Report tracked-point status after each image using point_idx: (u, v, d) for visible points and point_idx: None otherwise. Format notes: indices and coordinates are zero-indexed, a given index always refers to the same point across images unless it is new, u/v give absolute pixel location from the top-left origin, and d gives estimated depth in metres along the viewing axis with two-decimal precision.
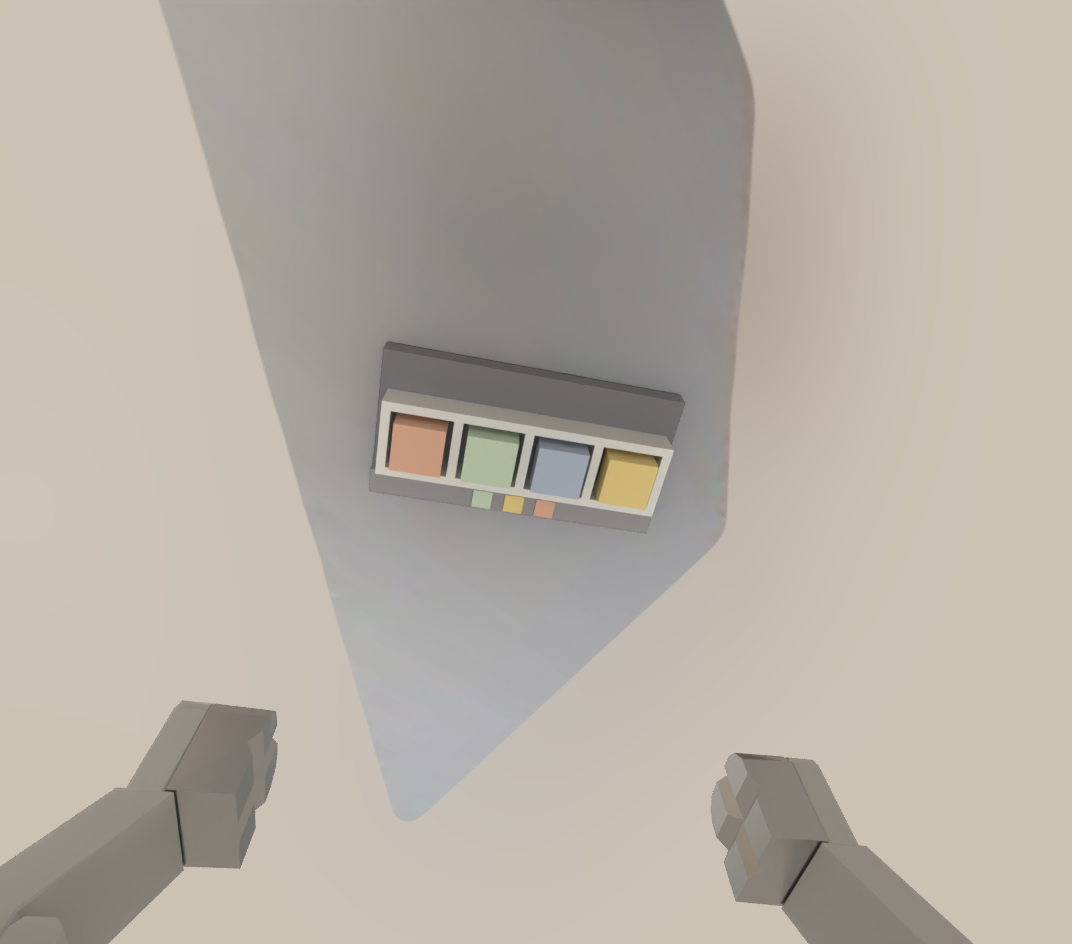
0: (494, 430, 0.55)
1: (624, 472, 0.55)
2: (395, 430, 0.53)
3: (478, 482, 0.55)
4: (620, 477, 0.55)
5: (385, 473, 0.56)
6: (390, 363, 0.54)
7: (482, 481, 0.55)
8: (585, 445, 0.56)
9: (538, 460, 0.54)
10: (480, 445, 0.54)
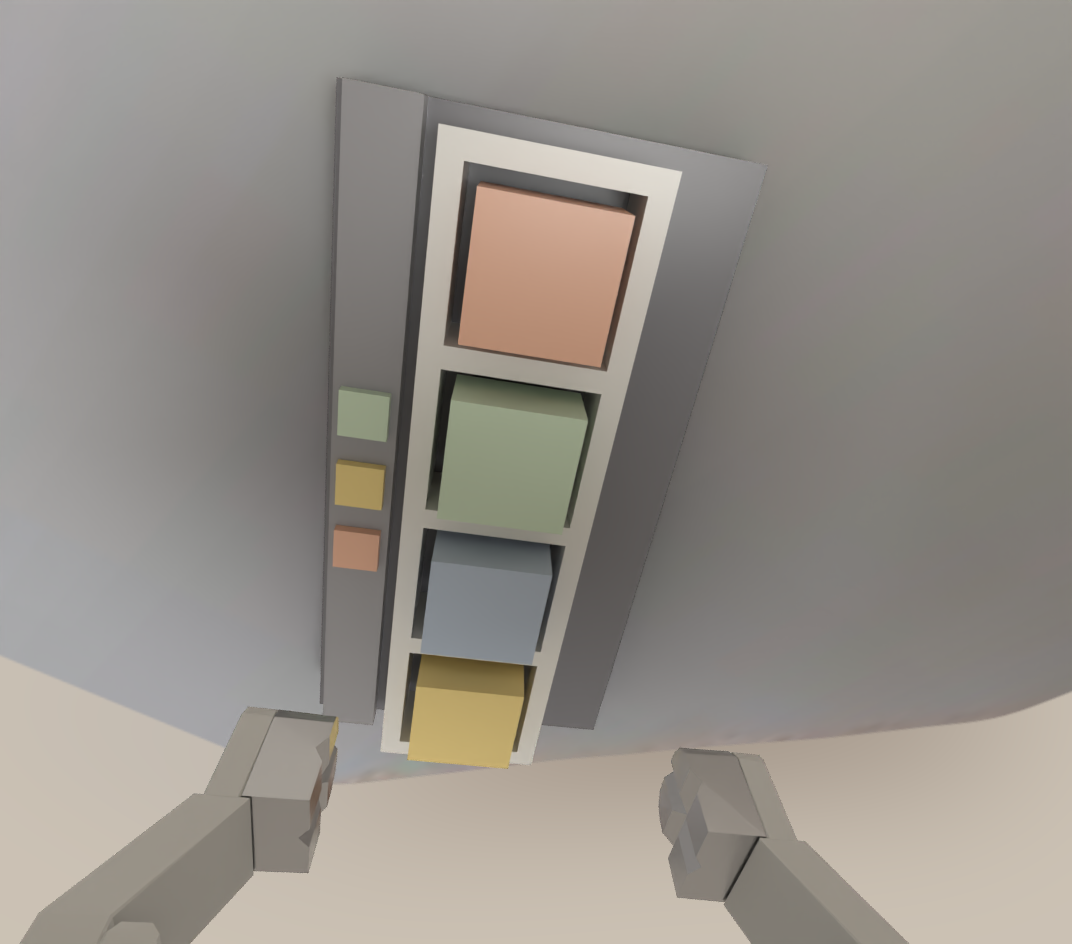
0: None
1: (494, 721, 0.26)
2: (612, 220, 0.17)
3: (450, 445, 0.20)
4: (482, 716, 0.26)
5: (441, 161, 0.18)
6: (726, 181, 0.21)
7: (454, 455, 0.21)
8: None
9: (519, 574, 0.23)
10: (560, 450, 0.21)
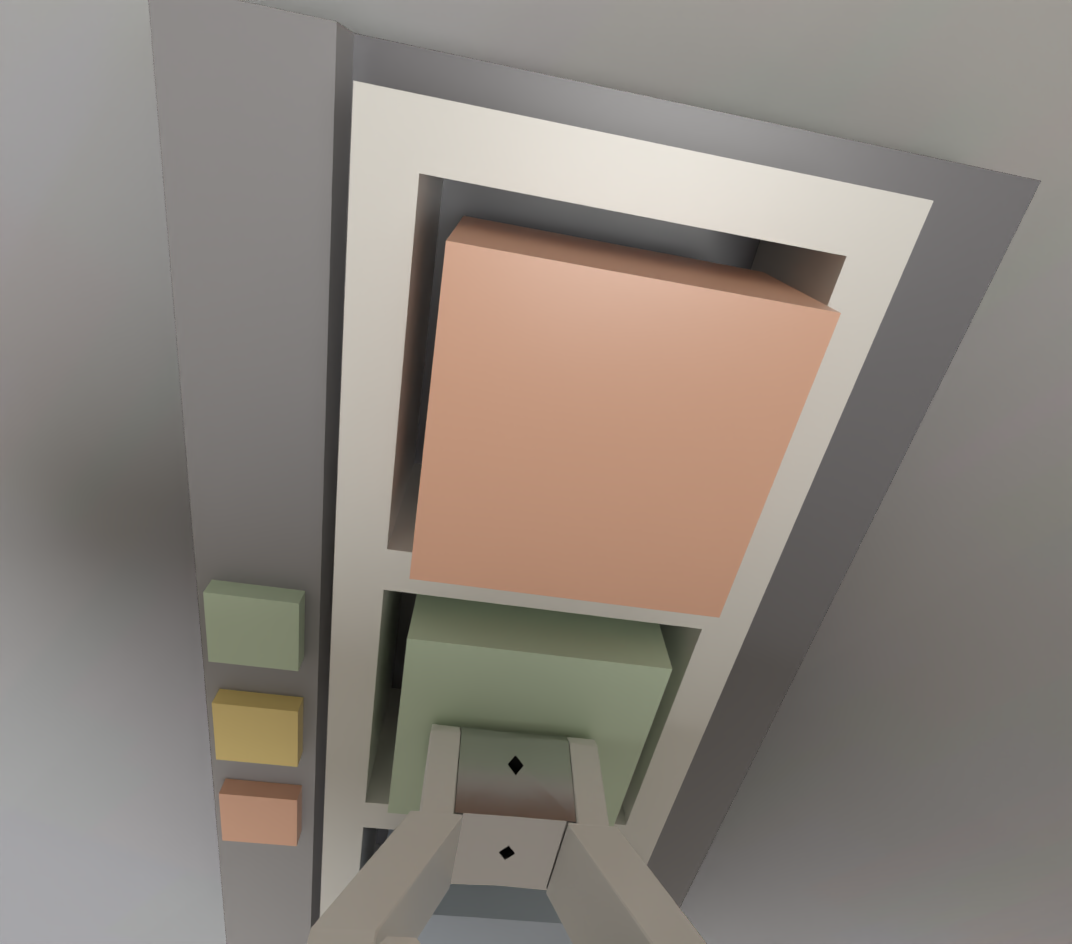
0: None
1: None
2: (782, 323, 0.07)
3: (408, 708, 0.11)
4: None
5: (365, 173, 0.07)
6: (953, 212, 0.11)
7: (416, 724, 0.11)
8: None
9: (535, 924, 0.13)
10: (615, 714, 0.11)
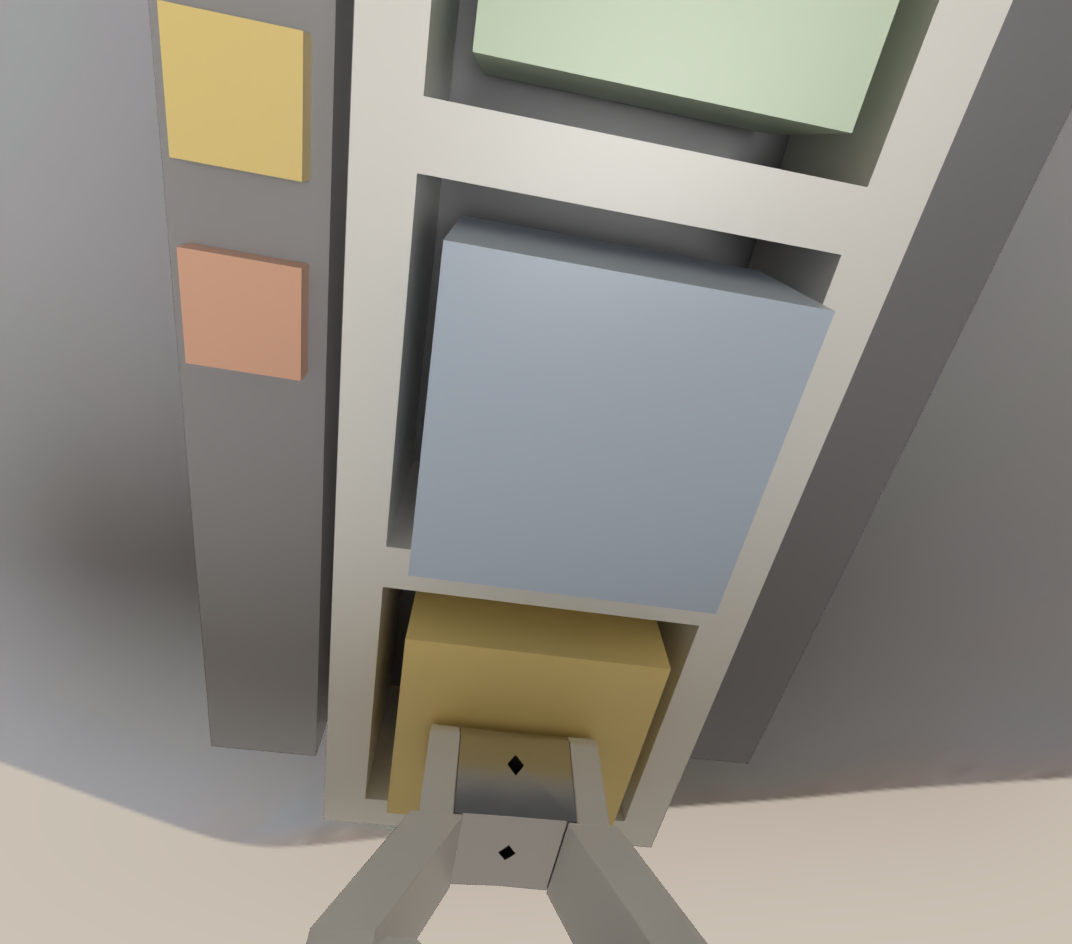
0: None
1: (592, 727, 0.11)
2: None
3: None
4: (563, 715, 0.11)
5: None
6: None
7: None
8: None
9: (730, 303, 0.07)
10: None
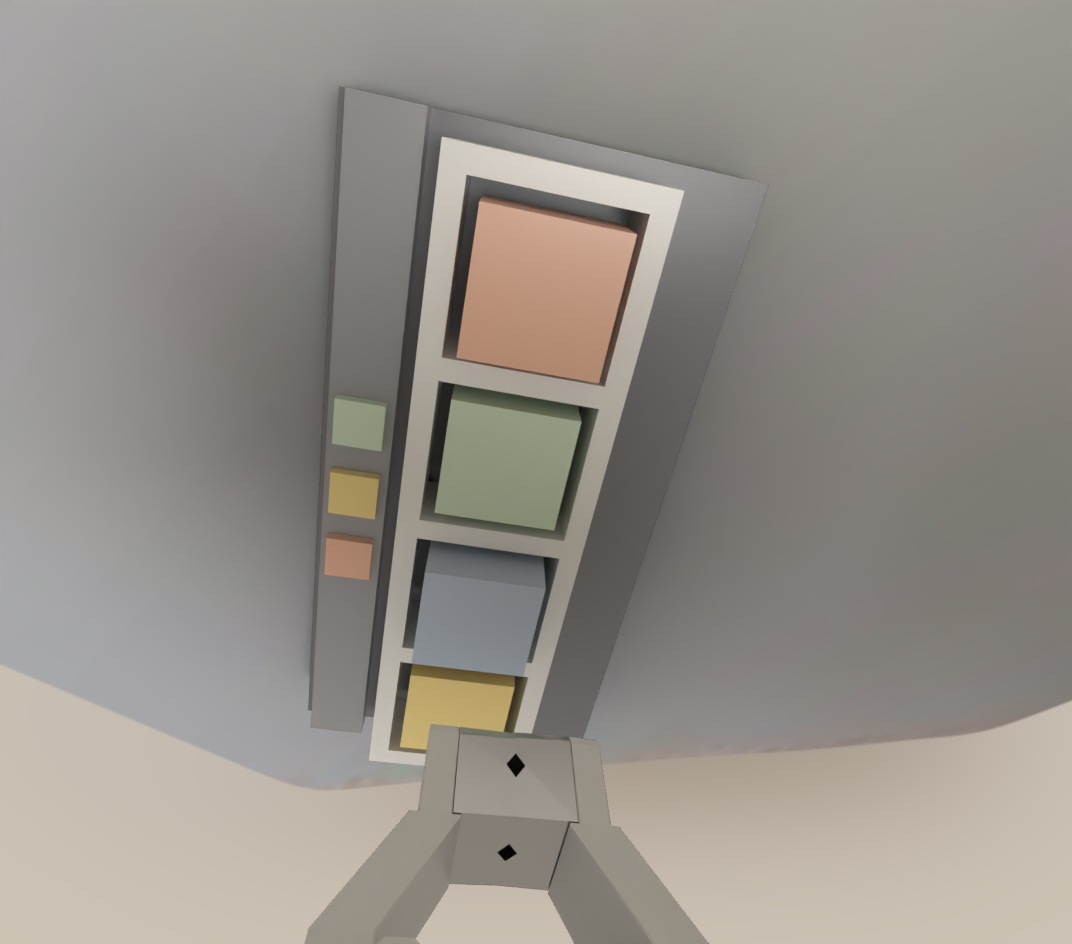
0: None
1: (485, 710, 0.27)
2: (614, 238, 0.17)
3: (449, 443, 0.21)
4: (473, 705, 0.27)
5: (444, 174, 0.18)
6: (727, 199, 0.21)
7: (453, 452, 0.22)
8: None
9: (512, 586, 0.23)
10: (554, 450, 0.22)
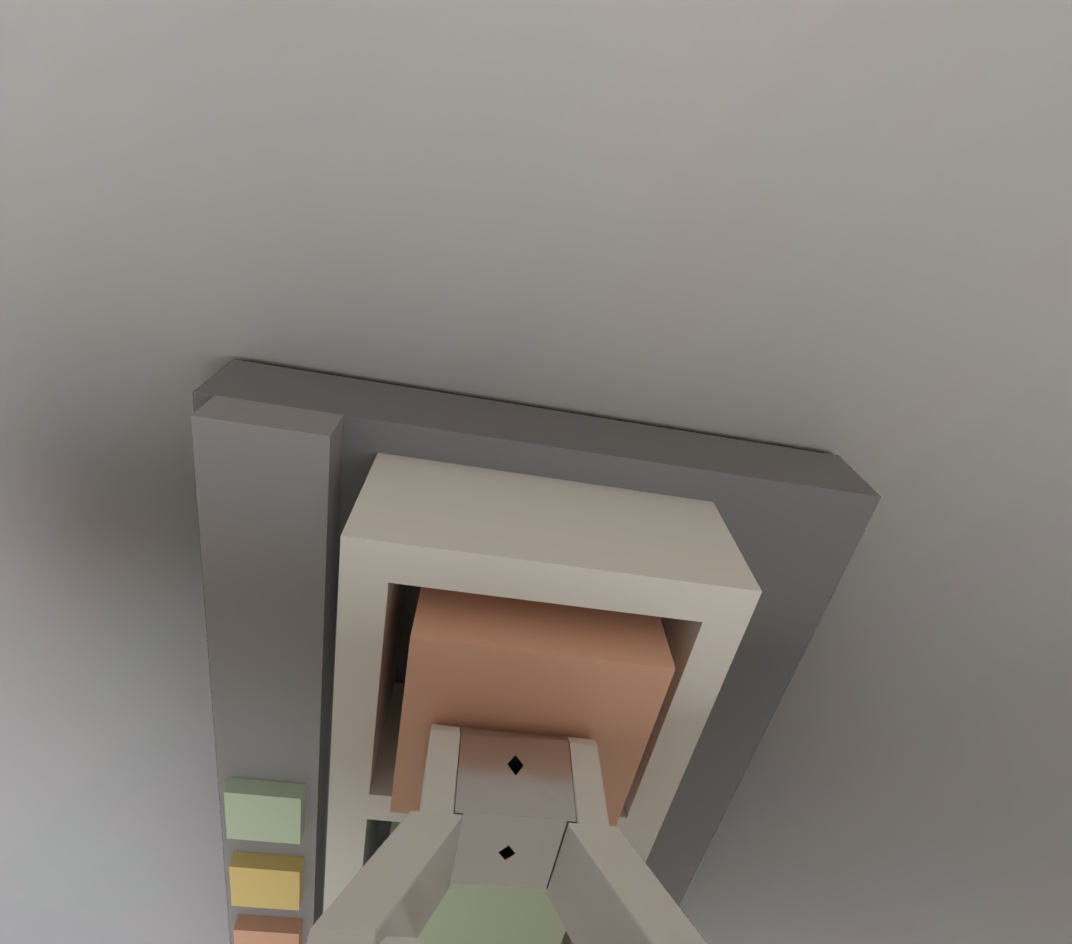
0: None
1: None
2: (637, 674, 0.11)
3: None
4: None
5: (349, 584, 0.10)
6: (814, 517, 0.14)
7: None
8: None
9: None
10: None
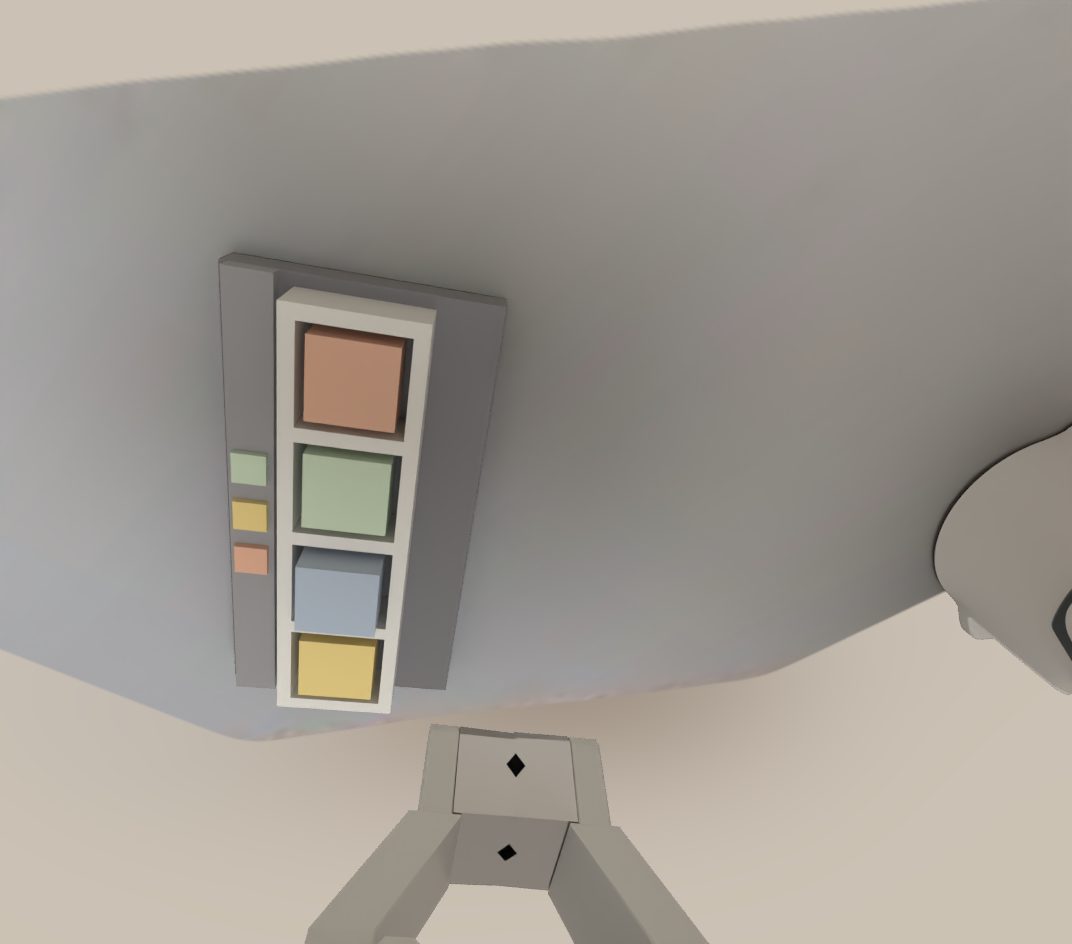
0: (392, 483, 0.35)
1: (356, 664, 0.38)
2: (388, 351, 0.30)
3: (305, 481, 0.33)
4: (347, 661, 0.38)
5: (280, 320, 0.29)
6: (481, 317, 0.32)
7: (308, 487, 0.33)
8: (379, 610, 0.38)
9: (356, 575, 0.34)
10: (376, 483, 0.33)
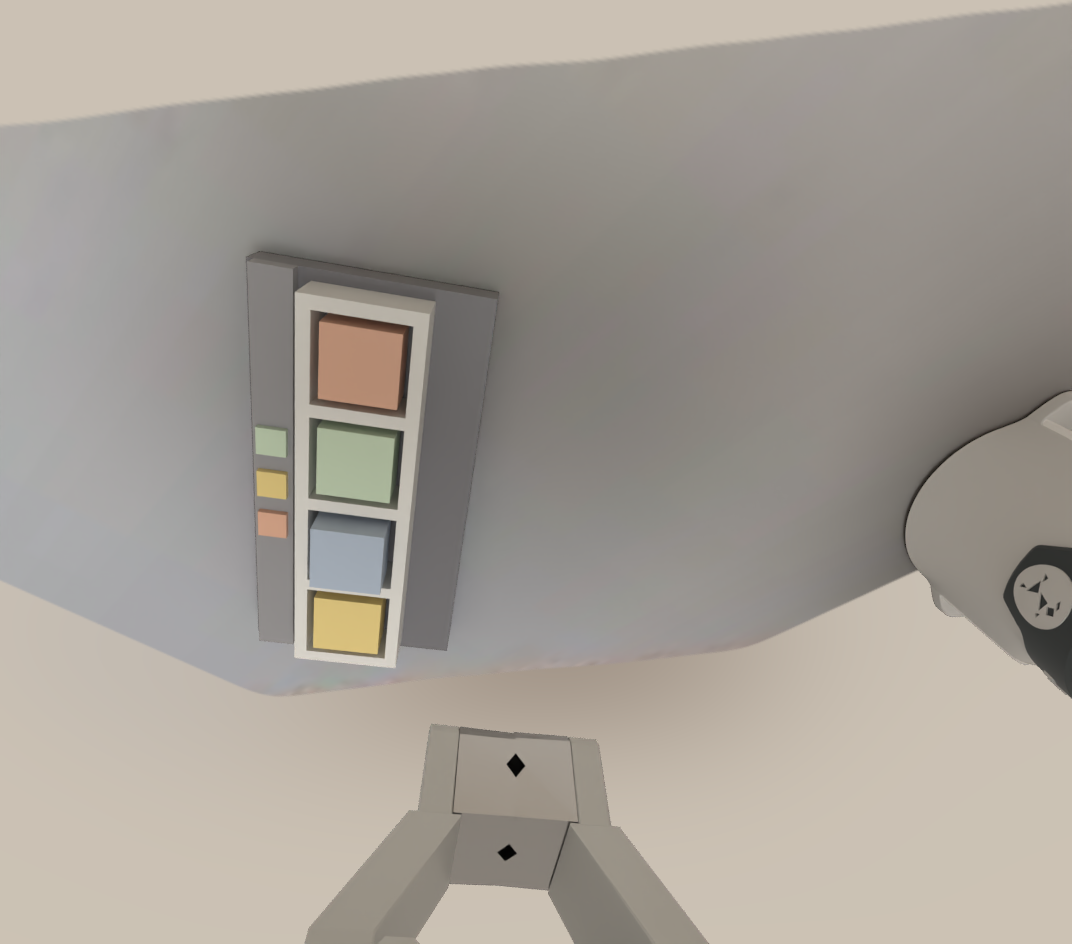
0: (397, 456, 0.39)
1: (364, 621, 0.43)
2: (391, 337, 0.34)
3: (319, 452, 0.37)
4: (356, 618, 0.43)
5: (298, 310, 0.33)
6: (475, 308, 0.36)
7: (322, 458, 0.37)
8: (385, 572, 0.42)
9: (364, 537, 0.38)
10: (381, 455, 0.37)
